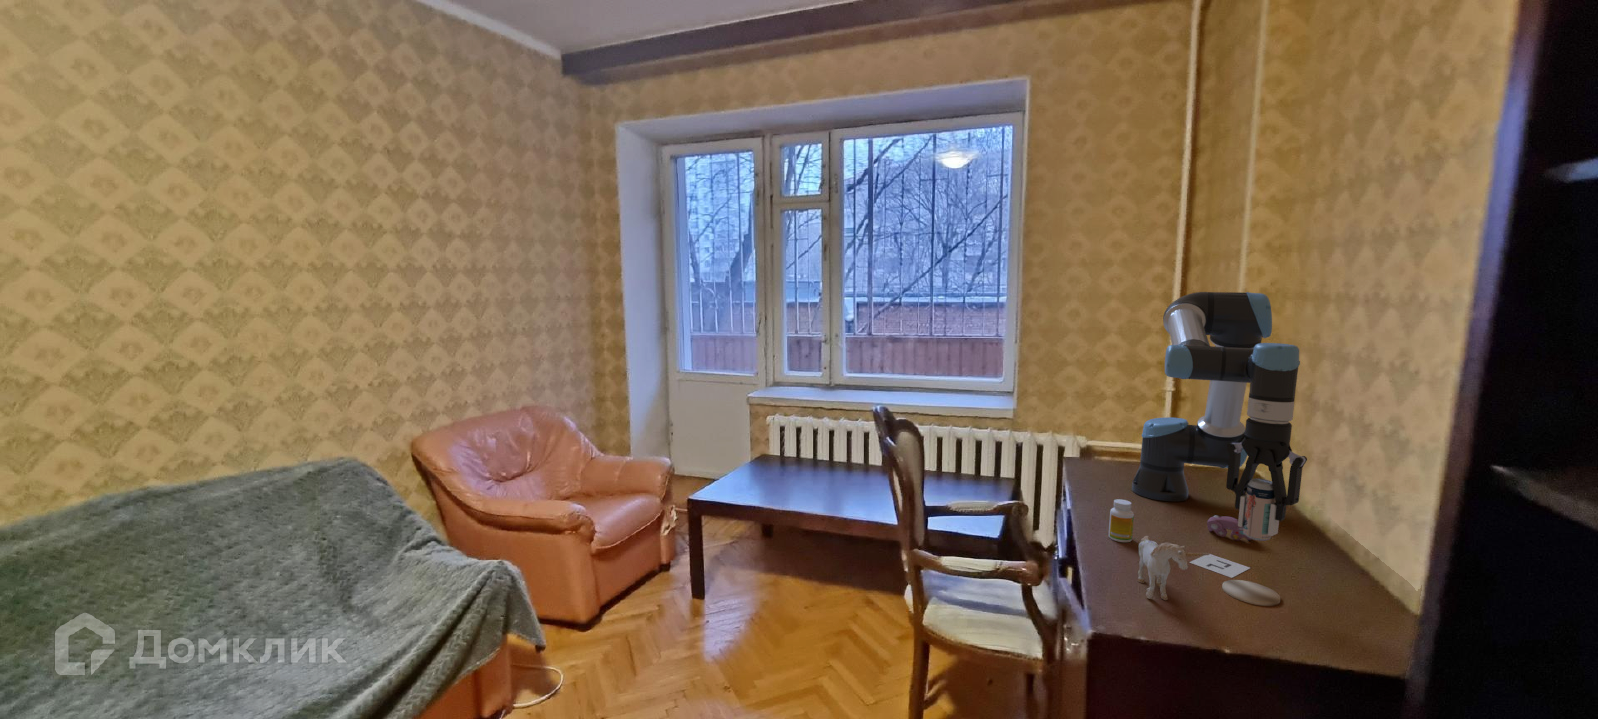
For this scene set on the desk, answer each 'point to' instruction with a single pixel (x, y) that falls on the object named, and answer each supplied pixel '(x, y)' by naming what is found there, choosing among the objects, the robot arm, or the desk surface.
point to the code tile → (1220, 565)
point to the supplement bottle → (1121, 521)
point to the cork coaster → (1251, 592)
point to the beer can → (1258, 509)
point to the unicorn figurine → (1160, 563)
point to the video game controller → (1226, 527)
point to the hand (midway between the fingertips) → (1257, 529)
